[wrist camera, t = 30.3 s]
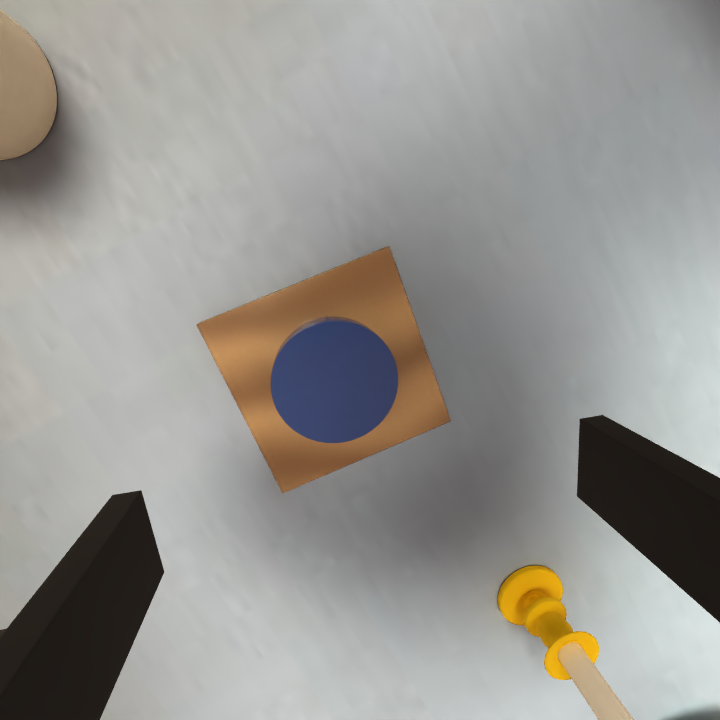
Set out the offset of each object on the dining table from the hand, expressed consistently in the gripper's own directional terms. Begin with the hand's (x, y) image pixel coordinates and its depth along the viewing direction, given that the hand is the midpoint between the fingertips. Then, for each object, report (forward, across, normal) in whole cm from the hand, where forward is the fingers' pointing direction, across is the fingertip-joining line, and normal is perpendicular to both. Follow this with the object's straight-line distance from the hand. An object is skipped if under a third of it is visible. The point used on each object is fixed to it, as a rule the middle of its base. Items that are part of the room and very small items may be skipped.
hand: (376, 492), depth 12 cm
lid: (+12, 0, 0) cm, 12 cm away
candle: (+14, -13, +20) cm, 28 cm away
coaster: (+14, 0, 0) cm, 14 cm away
